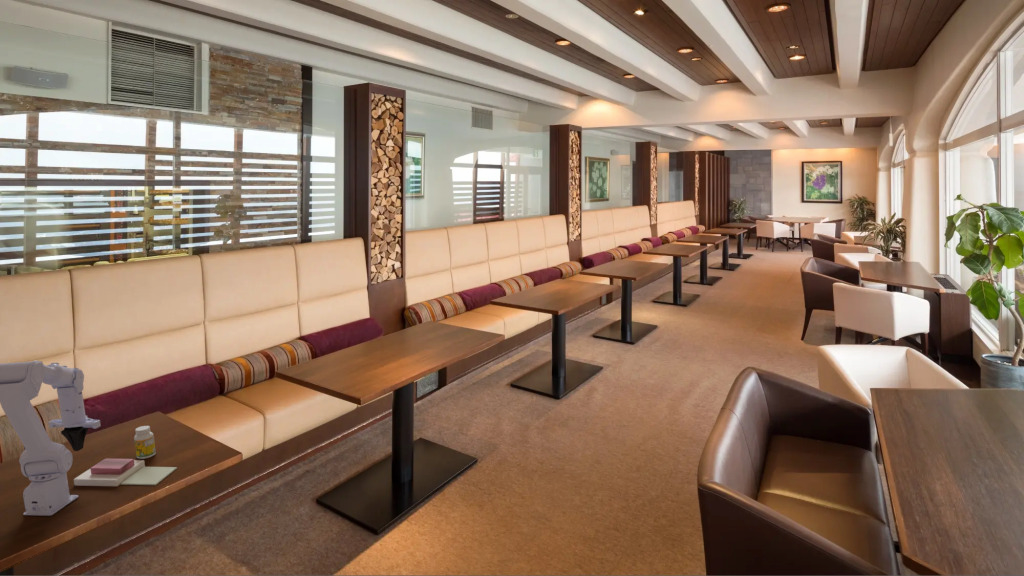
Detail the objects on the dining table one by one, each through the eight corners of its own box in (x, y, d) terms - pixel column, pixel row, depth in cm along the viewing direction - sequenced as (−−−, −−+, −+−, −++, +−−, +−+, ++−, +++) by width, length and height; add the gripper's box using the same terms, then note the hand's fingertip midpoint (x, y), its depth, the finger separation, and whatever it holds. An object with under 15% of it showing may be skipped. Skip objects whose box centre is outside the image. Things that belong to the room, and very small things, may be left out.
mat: (155, 485, 166) (155, 484, 166) (120, 484, 166) (120, 483, 166) (176, 468, 176) (176, 467, 176) (143, 467, 176) (143, 466, 176)
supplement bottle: (159, 454, 185) (155, 426, 184) (142, 460, 181) (138, 433, 179) (150, 450, 188) (146, 423, 186) (133, 457, 183) (129, 429, 182)
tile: (120, 474, 168) (119, 468, 168) (91, 474, 169) (90, 468, 168) (134, 464, 174) (133, 459, 174) (106, 464, 174) (105, 458, 174)
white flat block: (117, 486, 166) (116, 480, 165) (74, 485, 166) (73, 479, 166) (144, 466, 177) (144, 460, 177) (105, 465, 178) (104, 459, 177)
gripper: (105, 402, 172) (111, 443, 174) (59, 401, 172) (66, 443, 175) (87, 411, 165) (93, 454, 167) (39, 410, 165) (46, 453, 168)
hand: (78, 449), depth 171 cm, fingers closed
